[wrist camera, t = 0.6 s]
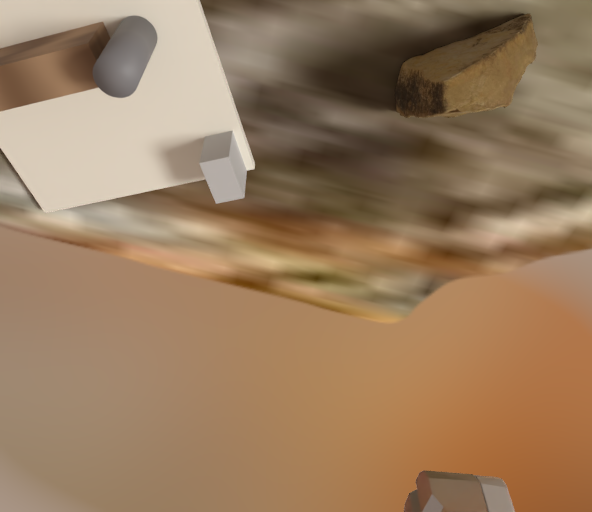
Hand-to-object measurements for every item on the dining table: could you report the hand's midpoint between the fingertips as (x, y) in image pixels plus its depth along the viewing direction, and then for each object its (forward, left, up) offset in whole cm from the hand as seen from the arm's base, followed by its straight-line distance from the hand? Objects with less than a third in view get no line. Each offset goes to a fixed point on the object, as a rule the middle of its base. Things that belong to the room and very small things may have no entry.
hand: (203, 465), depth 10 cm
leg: (+3, -19, -36) cm, 41 cm away
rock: (+11, +13, -37) cm, 40 cm away
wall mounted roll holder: (+6, -15, -36) cm, 40 cm away
